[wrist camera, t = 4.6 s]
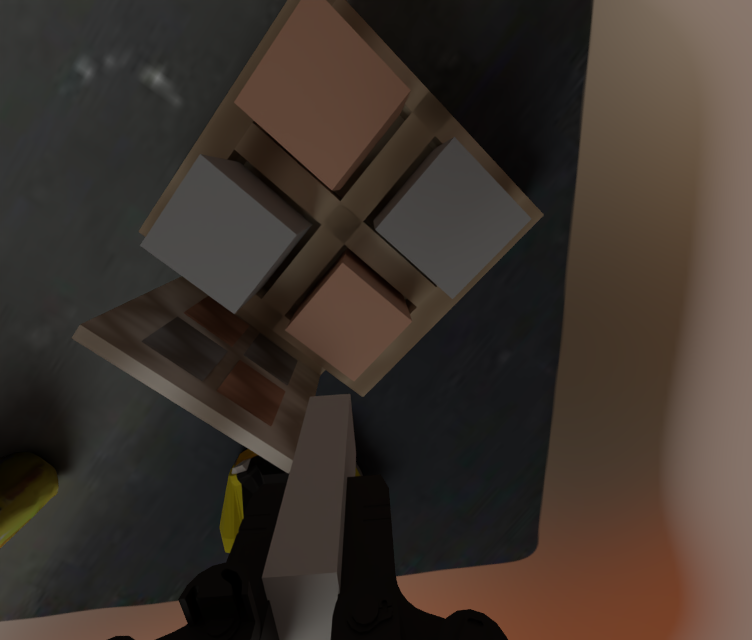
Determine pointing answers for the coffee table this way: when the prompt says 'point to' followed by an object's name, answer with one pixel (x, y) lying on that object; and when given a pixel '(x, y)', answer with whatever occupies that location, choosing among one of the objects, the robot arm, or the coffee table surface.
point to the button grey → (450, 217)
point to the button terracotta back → (350, 316)
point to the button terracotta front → (323, 93)
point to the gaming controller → (247, 490)
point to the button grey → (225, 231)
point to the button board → (287, 272)
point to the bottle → (23, 490)
